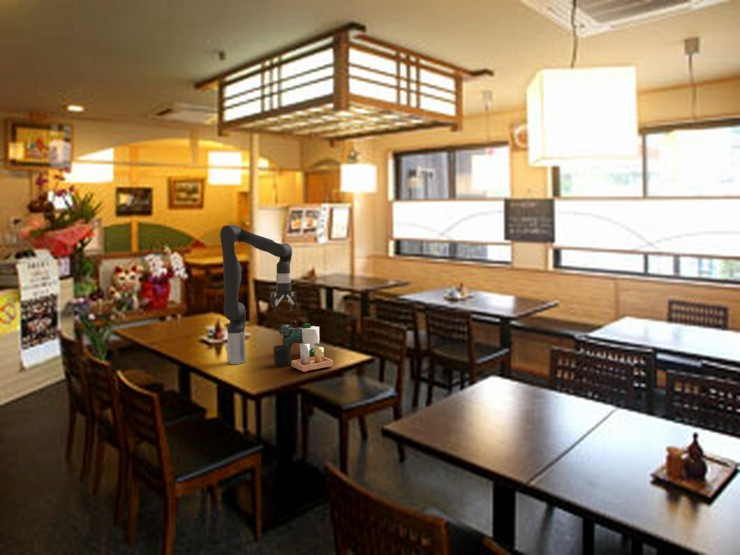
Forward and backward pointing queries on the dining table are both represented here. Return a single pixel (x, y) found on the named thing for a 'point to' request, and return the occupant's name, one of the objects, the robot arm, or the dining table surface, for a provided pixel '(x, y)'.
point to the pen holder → (282, 355)
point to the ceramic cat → (291, 334)
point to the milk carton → (311, 337)
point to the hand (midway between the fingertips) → (283, 312)
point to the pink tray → (312, 364)
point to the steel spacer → (304, 354)
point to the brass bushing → (318, 354)
